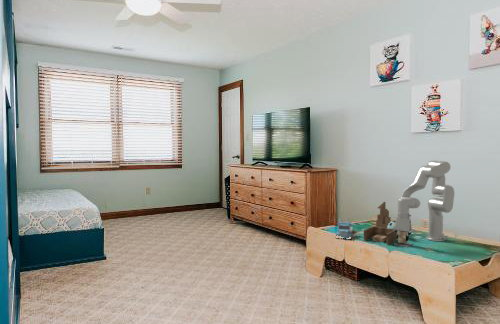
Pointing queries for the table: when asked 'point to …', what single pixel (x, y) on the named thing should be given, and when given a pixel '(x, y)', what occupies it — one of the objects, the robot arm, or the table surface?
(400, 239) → the maple block
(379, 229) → the slot stand
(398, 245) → the mat
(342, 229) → the truck
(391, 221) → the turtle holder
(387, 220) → the wooden toy
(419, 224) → the table surface
